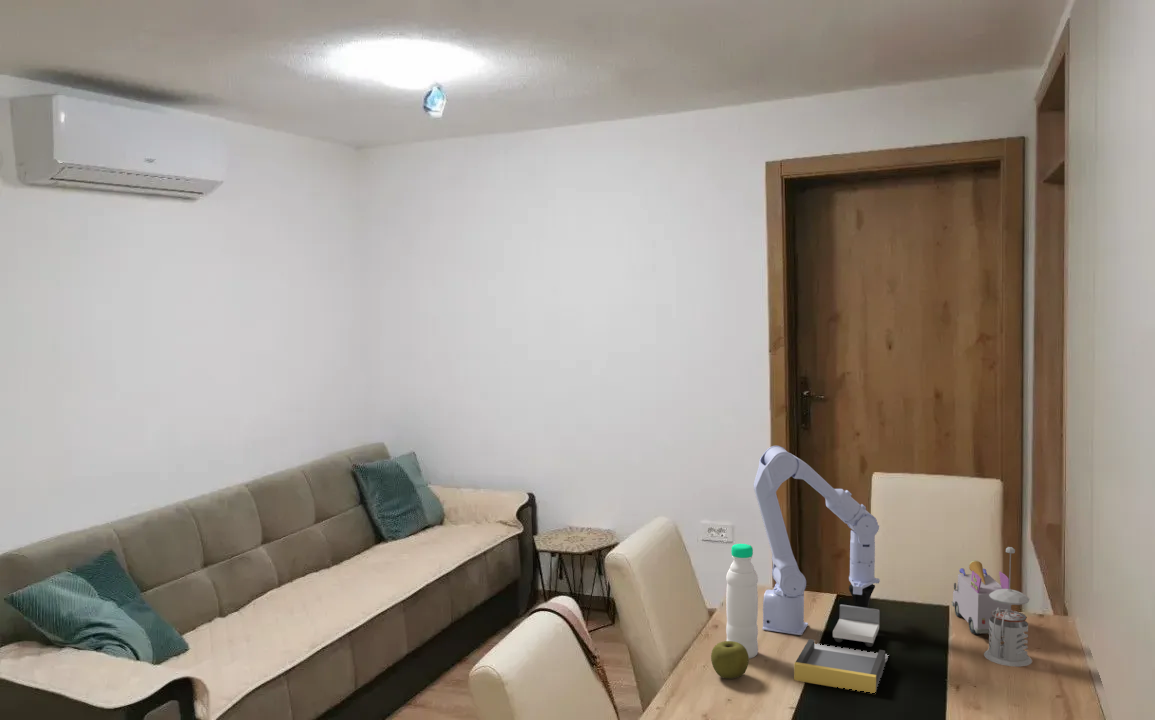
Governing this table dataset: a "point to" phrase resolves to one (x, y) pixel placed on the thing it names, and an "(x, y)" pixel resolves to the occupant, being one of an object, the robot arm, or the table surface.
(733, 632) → the water bottle
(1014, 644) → the french press
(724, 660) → the apple
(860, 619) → the grey angled piece
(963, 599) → the toy vehicle
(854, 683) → the dock
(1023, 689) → the table surface
